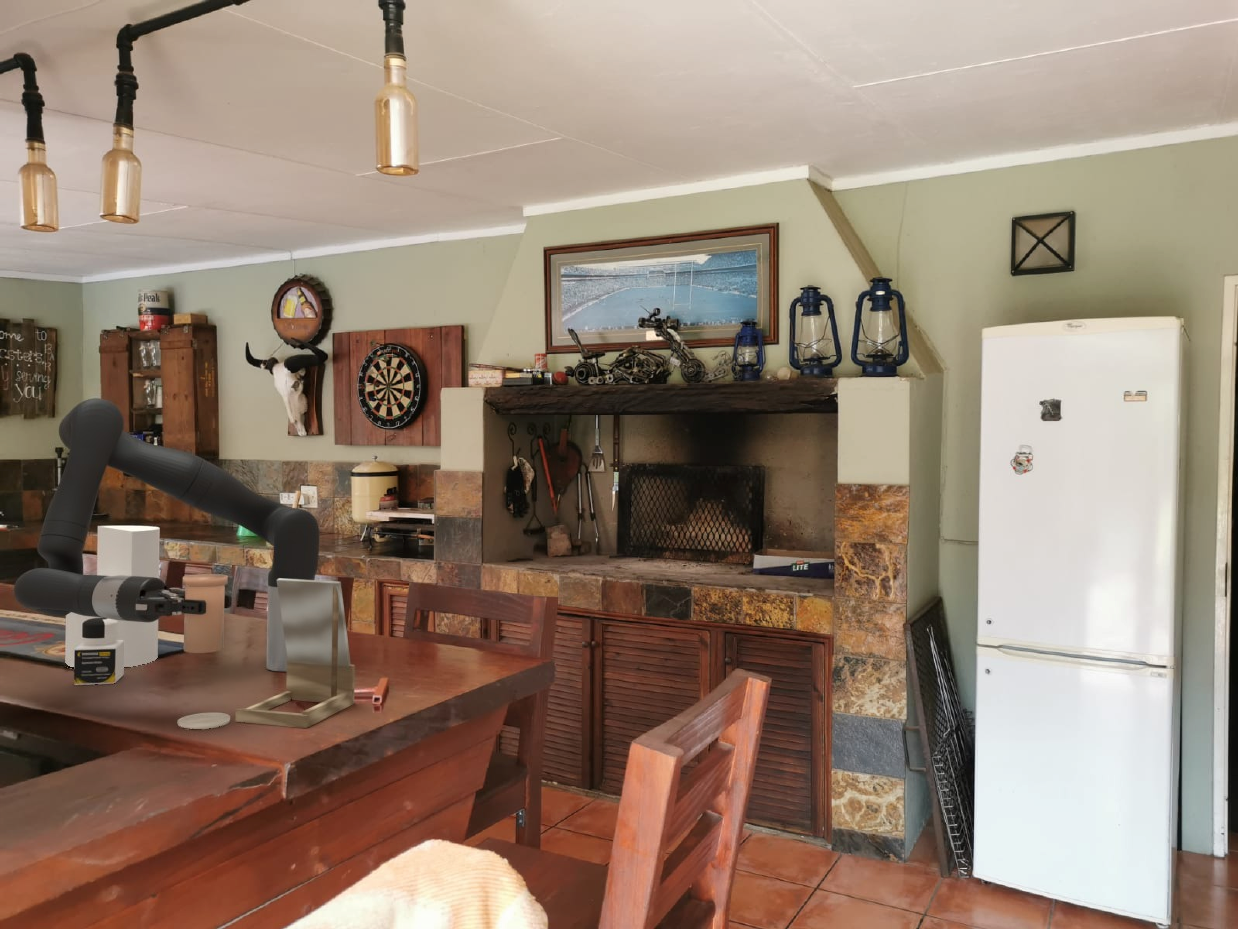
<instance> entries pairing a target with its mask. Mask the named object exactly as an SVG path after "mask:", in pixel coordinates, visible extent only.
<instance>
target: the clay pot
mask: <svg viewBox="0 0 1238 929" xmlns="http://www.w3.org/2000/svg"><path fill="white" fill-rule="evenodd" d="M228 580H229V579H228V575H226V574H219V573H218V574H217V573H203V574H201V573H200V574H199V573H198V574H189V575H188V574H187V575H184V576H182V586H184V589H185V599H191V600H204V601H206V613H205V614H202V615H199V614H186V613H184V622H183V623H184V626H183V652H185V653H191V654H206V653H215V652H219V651H220V652H221V651H222V650H223V649H224V637H225V636H224V634H225V632H224V631H225V608H224V601H225V595H226V594H225V593H226V585H228V583H229V581H228Z"/></svg>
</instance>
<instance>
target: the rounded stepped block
mask: <svg viewBox="0 0 1238 929" xmlns="http://www.w3.org/2000/svg"><path fill="white" fill-rule="evenodd" d="M160 531H161V530H160V527H158V526H153V525H151V526H150V525H97V550H96V551H97V553H96V575H103V576H119V575H125V576H141V577H155V578H159V577H160V538H161V537H160V535H161V533H160ZM159 579H160V578H159ZM92 618H103V617H91V616H83V615H79V614H76V613H73V612H71V613H69V614H68V615H65V643H64V645H65V649H64V650H65V653H64V654H65V655H64V656H65V657H64V658H65V659H64V660H65V661H64V664H65V663H66V664H67V665H68V666H70V667H74V651H75V648H76V647H78V646H79V645H81V644H82V643H84V642H83V641H82V623H83V622H84V621H86V620H88V619H92ZM117 621H118V638H117V639H116V640H123V641H124V667H131V668H134V667H133V666H136V667H139V666H138V665H141V666H143V665H142V664H145V665H148V664H147V663H149V664H151V663H153V662H152V661H154V662H156V661H157V660H158V659H157V658H158V655H159V654H158V653H159V651H158V650H159V649H158V648H159V619H157V620H156V621H154V622H135V621H122V620H117ZM156 659H157V660H156ZM155 660H156V661H155ZM150 662H151V663H150Z"/></svg>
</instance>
